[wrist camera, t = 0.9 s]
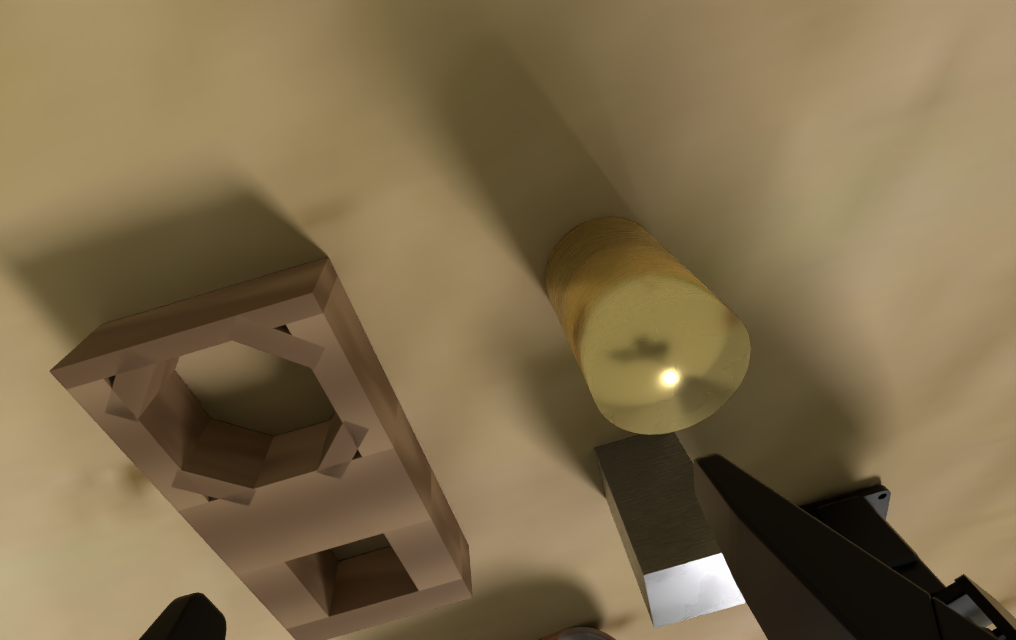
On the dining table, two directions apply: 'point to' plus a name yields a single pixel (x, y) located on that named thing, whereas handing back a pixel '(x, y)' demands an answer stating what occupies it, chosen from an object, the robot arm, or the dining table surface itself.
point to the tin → (579, 634)
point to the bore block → (282, 455)
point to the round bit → (644, 328)
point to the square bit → (665, 528)
